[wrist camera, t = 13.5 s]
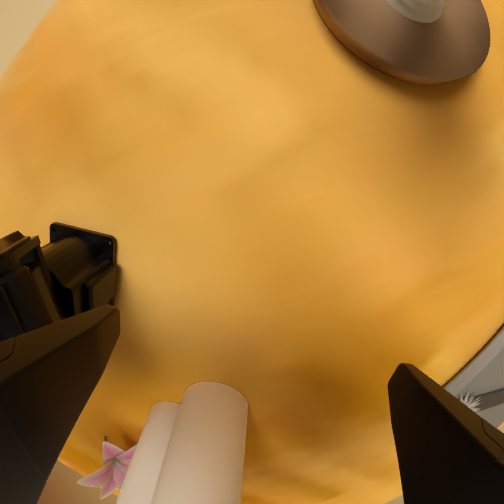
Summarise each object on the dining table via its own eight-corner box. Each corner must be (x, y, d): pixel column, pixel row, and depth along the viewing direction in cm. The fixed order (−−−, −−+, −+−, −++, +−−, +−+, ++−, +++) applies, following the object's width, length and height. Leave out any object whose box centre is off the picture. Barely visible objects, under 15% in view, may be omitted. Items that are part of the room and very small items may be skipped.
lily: (146, 465, 35) (162, 513, 26) (71, 454, 29) (75, 505, 21) (164, 412, 35) (186, 464, 26) (78, 396, 29) (79, 452, 20)
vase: (214, 370, 25) (168, 592, 6) (265, 411, 27) (258, 603, 8) (142, 410, 28) (84, 565, 9) (190, 443, 30) (157, 589, 11)
